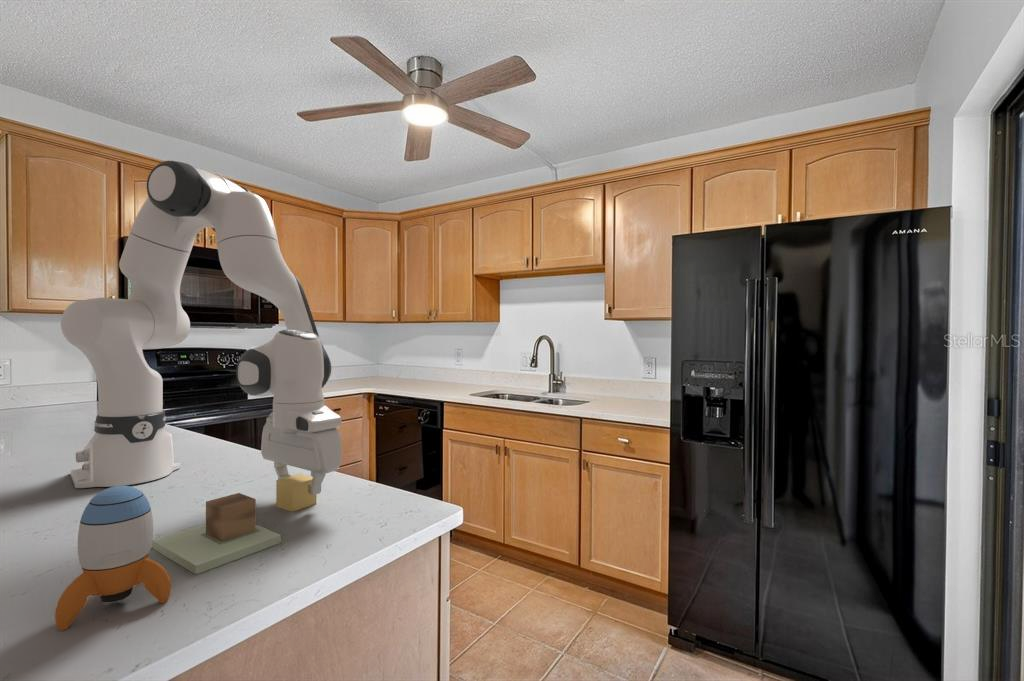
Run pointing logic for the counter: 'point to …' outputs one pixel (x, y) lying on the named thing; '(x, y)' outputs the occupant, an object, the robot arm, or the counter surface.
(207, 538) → the plate
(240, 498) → the walnut block
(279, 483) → the ochre block
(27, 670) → the counter surface
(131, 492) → the toy rocket
